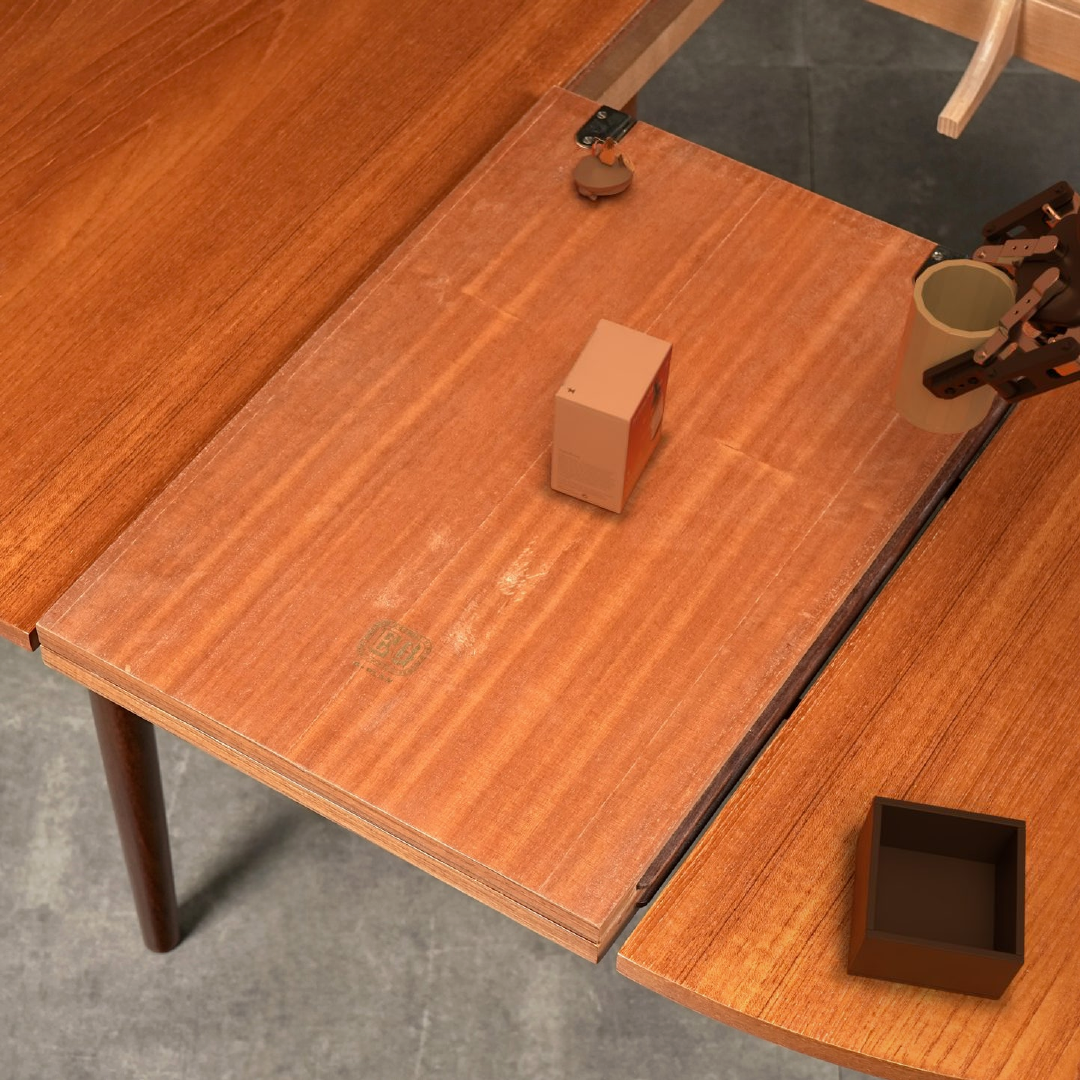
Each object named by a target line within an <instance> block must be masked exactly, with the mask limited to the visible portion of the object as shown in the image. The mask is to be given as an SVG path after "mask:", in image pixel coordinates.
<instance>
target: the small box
mask: <svg viewBox="0 0 1080 1080" xmlns="http://www.w3.org/2000/svg"><path fill="white" fill-rule="evenodd" d="M673 347H674V344H673V343H672V342H669V341H666V340H664V339H662V338H659V337H656V336H653V335H650V334H649V333H646V332H645V333H644V332H642V331H639V330H636V329H634V328H631V327H628V326H625V325H623V324H620V323H616V322H614V321H611V320H608V319H606V318H602V317H601V318H599V319H598V321H597V324H596V325H595V327H594V329H593V331H592V333H591V335H590V336H589V338H588V340H587V342H586V344H585V345H584V347H583V349H582V350H581V352H580V354H579V356H578V357H577V359H576V360H575V362H574V364H573V366H572V367H571V369H570V370H569V373H568V374H567V376H566V377H565V379H563V382H562V384H560V386H559V387H558V389H557V391H556V392H555V394H554V400H553V401H554V404H553V423H552V424H553V426H552V441H551V442H552V443H551V466H550V470H551V471H550V472H551V473H550V488H551V489H552V490H555V491H556V492H560V493H563V494H564V495H568V496H570V497H573V498H576V499H578V500H581V501H584V502H587V503H590V504H591V505H595V506H597V507H600V508H603V509H605V510H608V511H610V512H613V513H616V514H619V515H620V514H621V513H622V512H623V510H624V508H625V506H626V503H627V502H628V499H629V497H630V496H631V494H632V492H633V490H634V488H635V487H636V485H637V482H638V480H639V479H640V477H641V475H642V473H643V471H644V470H645V468H646V466H647V464H648V463H649V460H650V459H651V456H652V454H653V453H654V452H655V450H656V447H657V445H658V444H659V442H660V441H661V437H662V427H663V419H664V414H665V406H666V399H667V391H668V385H669V377H670V368H671V363H672V362H671V361H672V354H673Z"/></svg>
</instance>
